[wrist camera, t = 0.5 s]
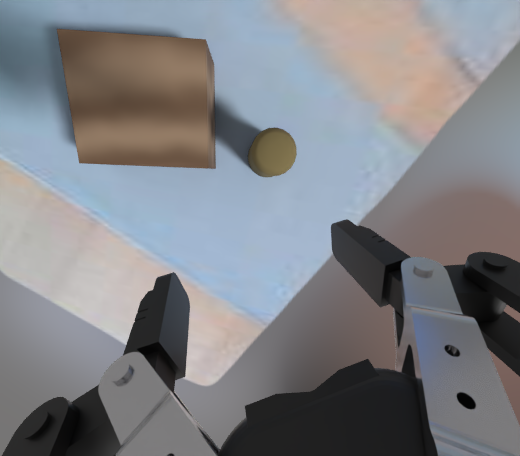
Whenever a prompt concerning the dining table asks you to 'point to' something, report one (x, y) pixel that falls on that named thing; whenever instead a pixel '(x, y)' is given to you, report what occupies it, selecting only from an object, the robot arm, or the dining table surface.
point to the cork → (272, 152)
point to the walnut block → (140, 98)
